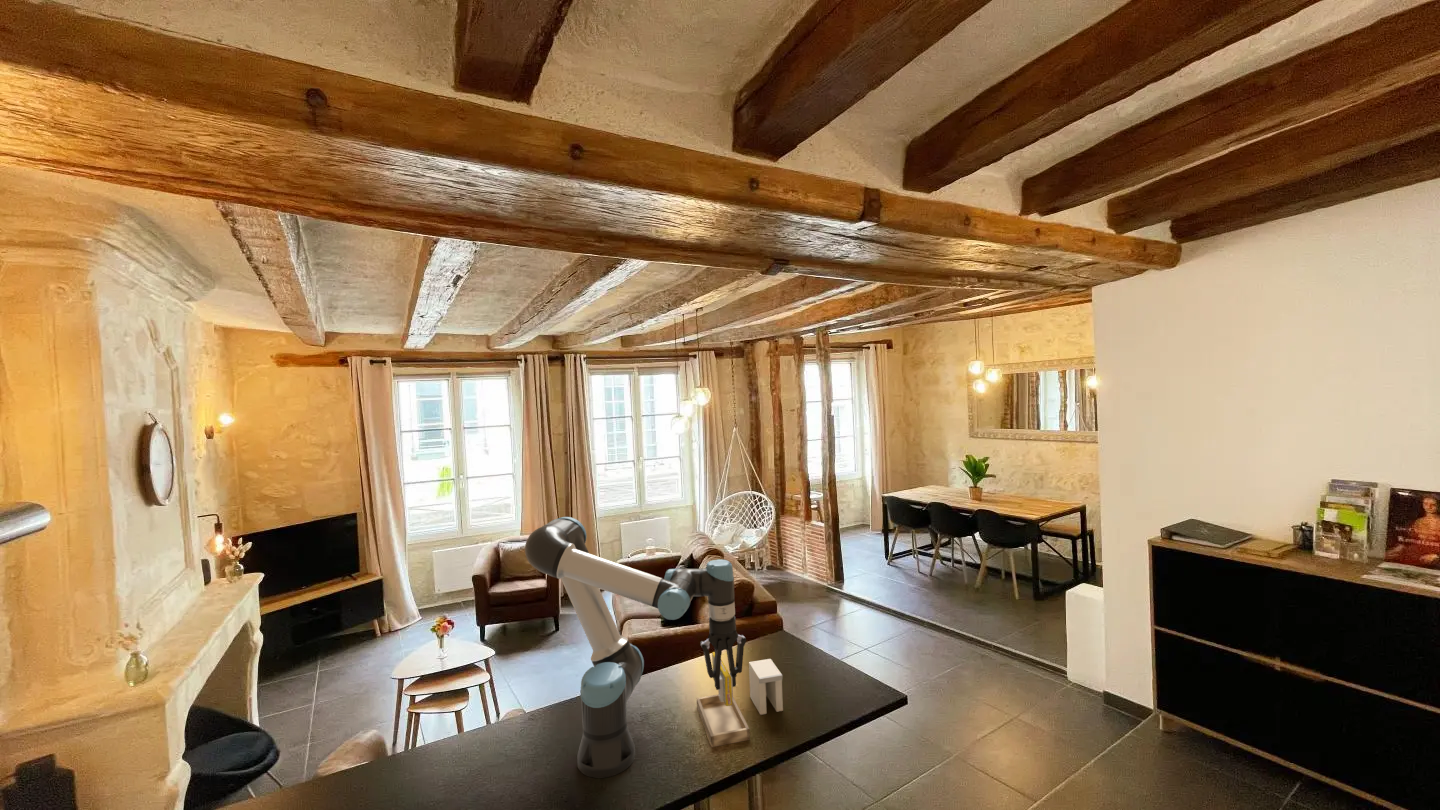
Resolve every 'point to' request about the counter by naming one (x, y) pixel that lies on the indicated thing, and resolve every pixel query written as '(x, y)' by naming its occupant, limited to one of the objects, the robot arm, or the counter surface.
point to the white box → (765, 685)
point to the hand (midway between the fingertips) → (725, 698)
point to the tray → (722, 721)
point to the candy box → (724, 682)
